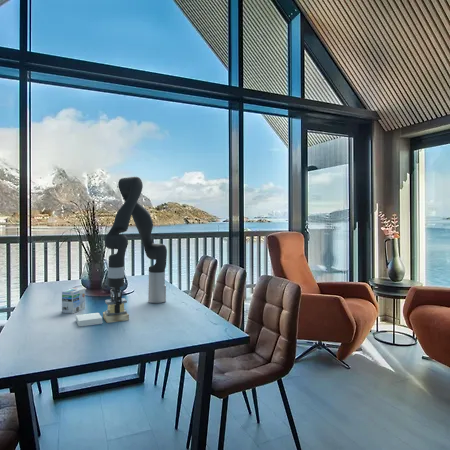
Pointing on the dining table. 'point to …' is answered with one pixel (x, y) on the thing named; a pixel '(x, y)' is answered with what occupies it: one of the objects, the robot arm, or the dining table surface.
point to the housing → (112, 307)
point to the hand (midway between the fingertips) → (115, 311)
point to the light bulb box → (73, 300)
